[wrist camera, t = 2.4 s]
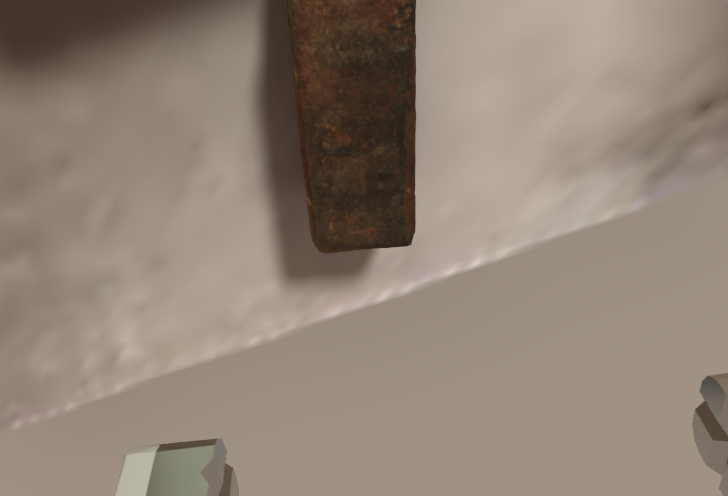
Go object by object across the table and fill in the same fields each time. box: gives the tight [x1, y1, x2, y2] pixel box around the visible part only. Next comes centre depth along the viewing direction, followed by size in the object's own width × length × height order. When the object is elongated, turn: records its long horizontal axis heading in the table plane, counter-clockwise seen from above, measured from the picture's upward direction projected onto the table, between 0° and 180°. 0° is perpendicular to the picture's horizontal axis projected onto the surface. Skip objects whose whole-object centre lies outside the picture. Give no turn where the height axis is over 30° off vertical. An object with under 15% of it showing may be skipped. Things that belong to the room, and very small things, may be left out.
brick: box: [287, 0, 416, 253], centre depth 24 cm, size 11×4×5 cm, turn 3°
